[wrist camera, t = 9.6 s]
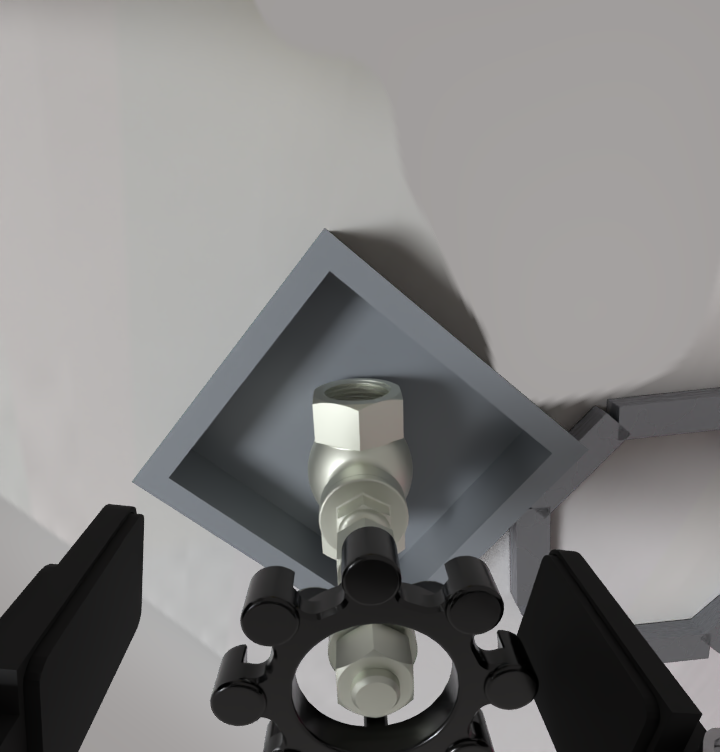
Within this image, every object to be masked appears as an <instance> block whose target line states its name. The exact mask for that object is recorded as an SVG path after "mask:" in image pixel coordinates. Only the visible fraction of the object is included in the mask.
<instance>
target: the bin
mask: <svg viewBox="0 0 720 752" xmlns="http://www.w3.org/2000/svg"><path fill="white" fill-rule="evenodd" d="M353 378H372V379H381V380H386V381H389V382H392V383H395V384H397V385H399V387H400V390H401V393H402V397H403V432H404V439H405V440H406V442H407V445H408V447H409V450H410V454H411V458H412V465H413V476H412V482H411V486H410V490H409V493H408V495H407V497H406V503H407V507H408V514H409V520H408V526H407V529H406V532H405V549H404V550H403V551H401V552H400V553H399V554H398V557H399V563H400V569H401V575H402V581H401V582H405V583H409V584H413V583H417V582H420V581H436V582H439V583H442V584H445V583H446V581H447V580H448V576H447V573H446V569H445V565H444V564H445V563H446V562H447V561H449V560H451V559H453V558H455V557H459V556H473V557H476V558H478V559H479V558H480V557H481V556H482V555H483V554H484V553H485V552H486V551H487V550H488V549H489V548H490V547H491V546H492V545H493V544H494V543H495V542H496V541H497V540H498V539H499V538H500V537H501V536H502V535H503V534H504V533H505V532H506V531H507V530H508V529H509V528H510V527H511V526H512V525H513V524H514V523H515V522H516V521H517V520H518V519H519V518H520V517H521V516H522V515H523V514H524V513H525V512H526V511H527V510H528V509H529V508H530V507H531V506H532V505H533V504H534V503H535V502H536V501H537V500H538V499H539V498H540V497H541V496H542V495H543V494H544V493H545V492H546V491H547V490H548V489H549V488H551V487H552V486H553V485H554V484H555V483H556V482H557V481H558V480H559V479H560V478H561V477H562V476H563V475H564V474H565V473H566V472H567V471H568V470H569V469H570V468H571V467H572V466H573V465H574V464H575V463H576V462H577V461H578V460H579V459H580V458H581V457H582V456H583V455H584V454H585V453H586V452H587V451H588V449H587V448H586V447H585V446H584V445H583V444H581V443H580V442H579V441H578V440H577V439H576V438H574V437H573V436H572V435H571V434H570V433H568V432H567V431H566V430H565V429H564V428H563V427H561V426H560V425H559V424H558V423H557V422H555V421H554V420H553V419H552V418H551V417H550V416H548V415H547V414H546V413H545V412H544V411H542V410H541V409H540V408H539V407H538V406H536V405H535V404H534V403H533V402H532V401H531V400H529V399H528V398H527V397H526V396H525V395H523V394H522V393H521V392H520V391H519V390H517V389H516V388H515V387H514V386H513V385H511V384H510V383H509V382H508V381H507V380H505V379H504V378H503V377H502V376H501V375H500V374H498V373H497V372H496V371H495V370H494V369H492V368H491V367H490V366H489V365H488V364H486V363H485V362H484V361H483V360H482V359H480V358H479V357H478V356H477V355H476V354H474V353H473V352H472V351H471V350H470V349H469V348H467V347H466V346H465V345H464V344H463V343H461V342H460V341H459V340H458V339H457V338H455V337H454V336H453V335H452V334H451V333H449V332H448V331H447V330H446V329H445V328H444V327H442V326H441V325H440V324H439V323H438V322H436V321H435V320H434V319H433V318H432V317H430V316H429V315H428V314H427V313H426V312H424V311H423V310H422V309H421V308H420V307H418V306H417V305H416V304H415V303H414V302H413V301H411V300H410V299H409V298H408V297H407V296H405V295H404V294H403V293H402V292H401V291H399V290H398V289H397V288H396V287H395V286H393V285H392V284H391V283H390V282H389V281H387V280H386V279H385V278H384V277H383V276H382V275H380V274H379V273H378V272H377V271H376V270H374V269H373V268H372V267H371V266H370V265H368V264H367V263H366V262H365V261H364V260H362V259H361V258H360V257H359V256H358V255H357V254H355V253H354V252H353V251H352V250H351V249H349V248H348V247H347V246H346V245H345V244H343V243H342V242H341V241H340V240H339V239H337V238H336V237H335V236H334V235H333V234H331V233H330V232H329V231H328V230H326V229H325V228H324V230H323V231H322V232H321V233H320V235H319V236H318V237H317V239H316V240H315V241H314V243H313V244H312V245H311V247H310V248H309V249H308V251H307V252H306V253H305V255H304V256H303V257H302V258H301V260H300V261H299V262H298V264H297V265H296V266H295V268H294V269H293V270H292V272H291V273H290V274H289V276H288V277H287V278H286V280H285V281H284V282H283V284H282V285H281V286H280V287H279V289H278V290H277V291H276V293H275V294H274V295H273V297H272V298H271V299H270V301H269V302H268V303H267V305H266V306H265V307H264V309H263V310H262V311H261V312H260V314H259V315H258V316H257V318H256V319H255V320H254V322H253V323H252V324H251V326H250V327H249V328H248V330H247V331H246V332H245V334H244V335H243V336H242V337H241V339H240V340H239V341H238V343H237V344H236V345H235V347H234V348H233V349H232V351H231V352H230V353H229V355H228V356H227V357H226V359H225V360H224V361H223V363H222V364H221V365H220V366H219V368H218V369H217V370H216V372H215V373H214V374H213V376H212V377H211V378H210V380H209V381H208V382H207V384H206V385H205V386H204V388H203V389H202V390H201V391H200V393H199V394H198V395H197V397H196V398H195V399H194V401H193V402H192V403H191V405H190V406H189V407H188V409H187V410H186V411H185V413H184V414H183V415H182V416H181V418H180V419H179V420H178V422H177V423H176V424H175V426H174V427H173V428H172V430H171V431H170V432H169V434H168V435H167V436H166V438H165V439H164V440H163V442H162V443H161V444H160V445H159V447H158V448H157V449H156V451H155V452H154V453H153V455H152V456H151V457H150V459H149V460H148V461H147V463H146V464H145V465H144V467H143V468H142V469H141V470H140V472H139V473H138V474H137V476H136V477H135V478H134V480H133V481H132V482H133V483H134V484H136V485H138V486H139V487H141V488H142V489H144V490H145V491H147V492H148V493H150V494H152V495H153V496H155V497H156V498H158V499H159V500H161V501H163V502H164V503H166V504H167V505H169V506H170V507H172V508H173V509H175V510H177V511H178V512H180V513H181V514H183V515H184V516H186V517H188V518H189V519H191V520H192V521H194V522H195V523H197V524H198V525H200V526H202V527H203V528H205V529H206V530H208V531H209V532H211V533H213V534H214V535H216V536H217V537H219V538H220V539H222V540H223V541H225V542H227V543H228V544H230V545H231V546H233V547H234V548H236V549H238V550H239V551H241V552H242V553H244V554H245V555H247V556H248V557H250V558H252V559H253V560H255V561H256V562H258V563H259V564H261V565H262V566H264V567H269V566H283V567H287V568H289V569H291V570H293V571H294V572H295V577H294V584H293V585H294V586H295V587H297V588H298V589H300V590H301V589H303V588H308V587H321V588H326V589H330V588H333V587H336V586H338V578H337V560H335V559H333V558H331V557H329V556H327V555H325V554H323V549H322V534H321V530H320V527H319V504H318V503H317V501H316V499H315V497H314V495H313V493H312V490H311V487H310V484H309V478H308V460H309V455H310V451H311V448H312V445H313V443H314V441H315V434H314V420H313V406H312V403H313V394H314V390H315V389H316V388H317V387H319V386H321V385H323V384H326V383H329V382H333V381H337V380H343V379H353Z"/></svg>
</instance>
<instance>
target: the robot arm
mask: <svg viewBox="0 0 720 752" xmlns="http://www.w3.org/2000/svg"><path fill="white" fill-rule="evenodd" d="M143 541H144V516H143V515H142V514H137V513H136V508H135V507H132V506H122V505H112V504H108V505H106V506H105V507H104V508H103V509H102V510H101V511H100V513H99V514H98V515H97V516H96V518H95V519H94V520H93V521H92V523H91V524H90V525H89V526H88V528H87V529H86V530H85V531H84V533H83V534H82V535H81V536H80V537H79V539H78V540H77V541H76V542H75V544H74V545H73V546H72V547H71V549H70V550H69V551H68V552H67V554H66V555H65V556H64V557H63V559H62V560H61V561H60V562H59V564H49V565H46V566H45V567H44V568H43V569H41V570H40V571H39V573H38V574H37V575H36V576H35V577H34V578H33V580H32V581H31V582H30V583H29V584H28V586H27V587H26V588H25V589H24V590H23V592H22V593H21V594H20V595H19V596H18V598H17V599H16V600H15V601H14V602H13V604H12V605H11V606H10V607H9V609H7V611H6V612H5V613H4V614H3V615H2V617H1V618H0V752H78V751H79V749H80V746H81V745H82V742H83V740H84V738H85V736H86V734H87V732H88V730H89V728H90V726H91V724H92V722H93V720H94V717H95V715H96V713H97V711H98V709H99V707H100V705H101V703H102V701H103V699H104V696H105V694H106V692H107V690H108V688H109V686H110V684H111V682H112V680H113V678H114V676H115V674H116V671H117V669H118V667H119V665H120V663H121V661H122V659H123V657H124V655H125V653H126V650H127V648H128V646H129V644H130V642H131V640H132V638H133V636H134V633H135V632H136V629H137V627H138V624H139V621H140V616H141V606H142V574H143ZM517 636H518V637H519V638H520V640H521V641H522V643H523V645H524V648H525V650H526V652H527V654H528V657H529V659H530V661H531V663H532V666H533V668H534V670H535V672H536V675H537V677H538V680H539V689H538V693H537V695H536V697H535V698H534V700H535V702H536V704H537V707H538V709H539V711H540V714H541V716H542V718H543V721H544V723H545V725H546V728H547V730H548V732H549V735H550V737H551V739H552V742H553V744H554V746H555V749H556V751H557V752H720V728H712V729H710V730H709V731H706V730H705V728H704V727H703V725H702V724H701V723H700V721H699V720H700V718H701V716H702V713H701V712H700V711H699V709H698V708H697V707H696V705H695V704H694V703H693V701H692V700H691V699H690V697H689V696H688V695H687V693H686V692H685V691H684V690H683V688H682V687H681V686H680V684H679V683H678V682H677V680H676V679H675V678H674V676H673V675H672V674H671V672H670V671H669V670H668V668H667V667H666V666H665V665H664V663H663V662H662V661H661V659H660V658H659V657H658V655H657V654H656V653H655V651H654V650H653V649H652V647H651V646H650V645H649V644H648V642H647V641H646V640H645V638H644V637H643V636H642V634H641V633H640V632H639V630H638V629H637V628H636V626H635V625H634V624H633V623H632V621H631V620H630V619H629V617H628V616H627V615H626V613H625V612H624V611H623V609H622V608H621V607H620V605H619V604H618V603H617V601H616V600H615V599H614V598H613V596H612V595H611V594H610V592H609V591H608V590H607V588H606V587H605V586H604V584H603V583H602V582H601V580H600V579H599V578H598V577H597V575H596V574H595V573H594V571H593V570H592V569H591V567H590V566H589V565H588V563H587V562H586V561H585V559H584V558H583V557H582V556H581V555H580V554H579V553H578V552H575V551H565V550H552V551H551V552H550V553H549V555H545V556H544V557H543V558H542V561H541V564H540V567H539V570H538V573H537V576H536V579H535V582H534V585H533V588H532V591H531V594H530V597H529V600H528V603H527V606H526V609H525V612H524V615H523V618H522V621H521V624H520V627H519V630H518V633H517Z"/></svg>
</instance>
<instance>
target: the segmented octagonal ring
mask: <svg viewBox="0 0 720 752" xmlns="http://www.w3.org/2000/svg"><path fill="white" fill-rule="evenodd" d="M711 430H720V387H719V388H710V389H701V390H691V391H682V392H673V393H663V394H654V395H645V396H635V397H626V398H617V399H607V413H606V412H604V411H603V410H601V409H600V408H598V407H597V406H594V407H593V408H592V409H591V410H590V411H589V412H588V413H587V414H586V415H585V416H584V417H583V418H582V419H581V420H580V421H579V422H578V423H577V424H576V425H575V427H574V428H573V429H572V430H571V431H570V432H569V433H570V434H571V435H572V436H573V437H574V438H576V439H577V440H578V441H579V442H580V443H581V444H583V445H584V446H585V447H586V448H587V449H588V451H587V452H586V453H585V454H584V455H583V456H582V457H581V458H580V459H579V460H578V461H577V462H576V463H575V464H574V465H573V466H572V467H571V468H570V469H569V470H568V471H567V472H566V473H565V474H564V475H563V476H562V477H561V478H560V479H559V480H558V481H557V482H556V483H555V484H554V485H553V486H552V487H551V488H549V489H548V490H547V491H546V492H545V493H544V494H543V495H542V496H541V497H540V498H539V499H538V500H537V501H536V502H535V503H534V504H533V505H532V506H531V507H530V508H529V509H528V510H527V511H526V512H525V513H524V514H523V515H522V516H521V517H520V518H519V519H518V520H517V521H516V522H515V523H514V524H513V525H512V526H511V527H510V528H509V536H510V592H511V594H512V596H513V598H514V600H515V603H516V605H517V606H518V608H519V610H520V612H521V614H522V615H524V612H525V609H526V606H527V603H528V600H529V597H530V594H531V591H532V588H533V585H534V582H535V579H536V576H537V573H538V570H539V567H540V564H541V561H542V558H543V557H544V556H545V555H549V553H550V513H551V512H552V511H553V510H554V509H555V508H556V507H557V506H558V505H559V504H560V503H561V502H562V501H563V500H564V499H565V498H566V497H567V496H568V495H570V494H571V493H572V492H573V491H574V490H575V489H576V488H577V487H578V486H579V485H580V484H581V483H582V482H583V481H584V480H585V479H586V478H587V477H588V476H589V475H590V474H591V473H592V472H593V471H594V470H595V469H596V468H597V467H598V466H599V465H600V464H601V463H602V462H603V461H604V460H605V459H606V458H607V457H608V456H609V455H610V454H611V453H612V452H613V451H614V450H615V449H616V448H617V447H618V446H619V445H621V444H622V443H623V442H624V441H625V440H627V439H636V438H646V437H655V436H664V435H674V434H683V433H692V432H702V431H711ZM635 626H636V628H637V629H638V630H639V632H640V633H641V634H642V636H643V637H644V638H645V640H646V641H647V642H648V644H649V645H650V646H651V647H652V649H653V650H654V651H655V653H656V654H657V655H658V657H659V658H660V659H661V661H662V662H663V663H668V662H678V661H687V660H696V659H705V658H709V650H710V647H712V648H713V649H714V650H716V651H717V652H718V653H720V595H719V596H718V597H717V598H716V599H714V600H713V601H712V602H711V603H710V604H708V605H707V606H706V607H705V608H704V609H703V610H701V611H700V612H699V613H698V614H697V615H696V616H694V617H693V618H692V619H688V620H679V621H669V622H660V623H651V624H642V625H635Z"/></svg>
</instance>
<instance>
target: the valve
mask: <svg viewBox="0 0 720 752" xmlns="http://www.w3.org/2000/svg"><path fill="white" fill-rule="evenodd" d="M312 406H313V420H314V434H315V441H314V443H313V445H312V448H311V451H310V455H309V460H308V478H309V484H310V487H311V490H312V493H313V495H314V497H315V499H316V501H317V503H318V504H319V527H320V530H321V534H322V549H323V554H325V555H327V556H329V557H331V558H333V559H335V560H337V578H338V586H336V587H333V588H330V589H326V588H321V587H308V588H303V589H301V590H299V591H296V590H295V589H294V588H293V584H294V577H295V572H294V571H293V570H291V569H289V568H287V567H283V566H269V567H265V568H263V569H261V570H260V571H258V572H257V573H256V574H255V575H254V576H253V578H252V579H251V581H250V585H249V588H248V592H247V596H246V599H245V603H244V606H243V610H242V613H241V619H240V621H241V627H242V630H243V632H244V634H245V635H246V636H247V637H248V638H249V639H250V640H251V641H253V642H255V643H257V644H259V645H263V646H272V650H271V654H270V657H269V659H268V660H266V661H265V662H263V663H260V664H252V663H247V646H246V644H245V645H239V646H236V647H234V648H232V649H230V650H229V651H228V652H227V653H226V654H225V655H224V657H223V659H222V662H221V665H220V668H219V672H218V675H217V679H216V682H215V685H214V689H213V692H212V696H211V700H210V702H211V709H212V711H213V713H214V715H215V716H216V717H217V718H218V719H219V720H221V721H222V722H224V723H226V724H229V725H234V726H244V725H248V724H251V723H253V722H255V721H257V720H258V719H259V718H260V717H264V718H268V719H270V720H271V721H270V722H269V724H268V726H267V731H266V737H265V743H264V750H263V752H494V748H493V745H492V742H491V738H490V735H489V731H488V728H487V725H486V721H485V718H484V715H483V712H482V711H481V709H480V708H481V707H483V706H485V705H487V704H492V705H494V706H496V707H498V708H501V709H505V710H513V709H518V708H521V707H523V706H525V705H527V704H529V703H530V702H531V701H532V700H533V699H534V698H535V697H536V695H537V693H538V689H539V680H538V677H537V675H536V672H535V670H534V668H533V666H532V663H531V661H530V659H529V657H528V654H527V652H526V650H525V648H524V645H523V643H522V641H521V640H520V638H519V637H518V636H516V635H515V634H513V633H511V632H509V631H504V630H498V631H497V639H498V649H495V650H490V651H489V650H483V649H480V648H479V647H478V646H477V645H476V643H475V640H474V636H475V635H477V634H482V633H485V632H487V631H489V630H491V629H493V628H494V627H495V626H496V625H497V624H498V623H499V621H500V620H501V618H502V616H503V611H504V603H503V600H502V597H501V595H500V593H499V591H498V588H497V586H496V584H495V582H494V579H493V577H492V575H491V573H490V570H489V568H488V567H487V565H486V564H485V563H484V562H483V561H482V560H480V559H478V558H476V557H473V556H459V557H455V558H453V559H451V560H449V561H447V562H446V563H445V564H444V565H445V569H446V573H447V576H448V580H447V581H446V583H445V584H442V583H439V582H436V581H420V582H417V583H413V584H409V583H405V582H401V581H402V575H401V569H400V563H399V557H398V554H399V553H400V552H401V551H403V550H404V549H405V532H406V529H407V526H408V520H409V514H408V507H407V503H406V497H407V495H408V493H409V490H410V486H411V482H412V476H413V465H412V458H411V454H410V450H409V447H408V445H407V442H406V440H405V439H404V432H403V397H402V393H401V390H400V387H399V385H397V384H395V383H392V382H389V381H386V380H381V379H372V378H353V379H343V380H337V381H333V382H329V383H326V384H323V385H321V386H319V387H317V388H316V389H315V390H314V394H313V403H312ZM414 630H416V631H418V632H420V633H423V634H425V635H427V636H428V637H430V638H431V639H433V640H434V641H435V642H437V643H438V644H439V645H440V646H441V647H442V648H443V649H444V650H445V651H446V652H447V653H448V655H449V656H450V658H451V660H452V671H451V675H450V678H449V681H448V683H447V685H446V687H445V688H444V690H443V692H442V694H441V695H440V696H439V697H438V698H437V699H436V700H435V702H434V703H433V704H432V705H431V706H430V707H428V708H427V709H426V710H424V711H423V712H421V713H420V714H418V715H416V716H414V717H412V718H410V719H408V720H405V721H403V722H399V723H395V724H391V725H388V720H387V715H389V714H391V713H394V712H396V711H397V710H399V709H401V708H402V707H404V706H405V705H407V704H408V703H409V702H410V701H412V700H413V696H414V677H413V664H414V662H415V660H416V657H417V642H416V636H415V631H414ZM328 636H329V644H328V656H329V661H330V664H331V666H332V668H333V669H334V671H335V672H336V682H337V697H338V704H340V705H341V706H343V707H344V708H346V709H348V710H350V711H352V712H354V713H356V714H359V715H362V716H364V726H355V725H349V724H345V723H341V722H339V721H336V720H333V719H331V718H329V717H327V716H326V715H324V714H322V713H321V712H319V711H318V710H317V709H316V708H315V707H314V706H313V705H312V704H310V703H309V702H308V700H307V699H306V697H305V696H304V694H303V693H302V691H301V690H300V688H299V686H298V683H297V679H296V675H295V673H296V670H297V668H298V666H299V664H300V662H301V660H302V659H303V658H304V656H305V655H306V654H307V653H308V652H309V651H310V650H311V649H312V648H313V647H314V646H315V645H317V644H318V643H319V642H320V641H322V640H323V639H325V638H327V637H328Z"/></svg>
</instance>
